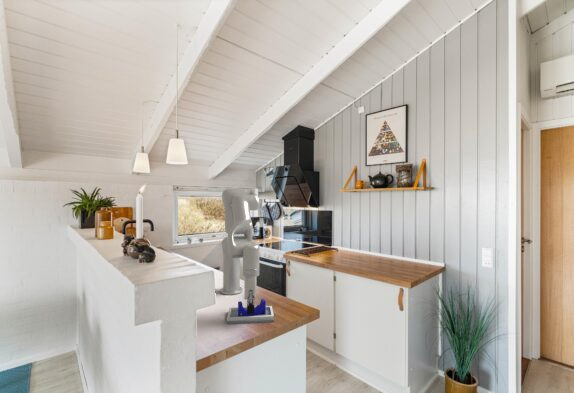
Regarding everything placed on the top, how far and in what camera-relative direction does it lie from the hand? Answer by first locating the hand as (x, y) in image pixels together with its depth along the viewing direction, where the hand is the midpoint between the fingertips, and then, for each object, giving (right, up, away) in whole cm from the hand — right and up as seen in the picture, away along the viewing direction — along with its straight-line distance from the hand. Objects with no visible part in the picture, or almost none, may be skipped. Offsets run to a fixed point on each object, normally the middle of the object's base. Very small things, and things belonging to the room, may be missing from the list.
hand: (250, 309), depth 127 cm
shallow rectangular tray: (0, -3, 0) cm, 3 cm away
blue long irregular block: (0, -2, 0) cm, 2 cm away
